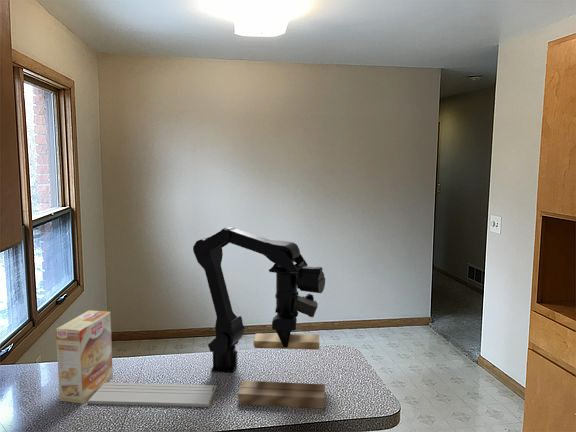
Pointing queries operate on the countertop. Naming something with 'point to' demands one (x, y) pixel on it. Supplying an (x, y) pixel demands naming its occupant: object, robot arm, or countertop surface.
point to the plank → (294, 343)
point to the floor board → (282, 394)
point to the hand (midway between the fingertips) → (286, 342)
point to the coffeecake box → (84, 355)
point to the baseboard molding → (154, 394)
